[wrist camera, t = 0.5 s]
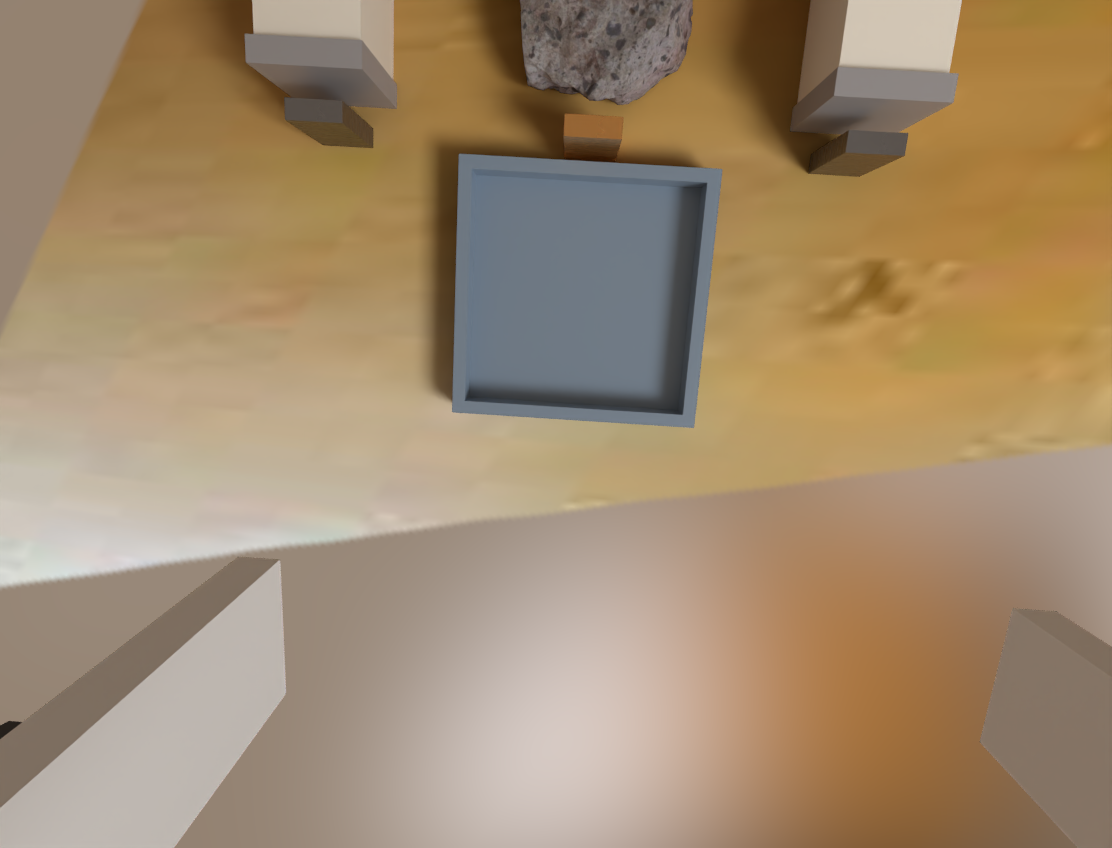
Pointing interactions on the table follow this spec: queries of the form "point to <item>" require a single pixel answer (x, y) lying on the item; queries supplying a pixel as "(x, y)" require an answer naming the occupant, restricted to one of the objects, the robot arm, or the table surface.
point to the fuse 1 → (326, 49)
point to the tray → (582, 288)
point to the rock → (603, 45)
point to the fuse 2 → (875, 64)
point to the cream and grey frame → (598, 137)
